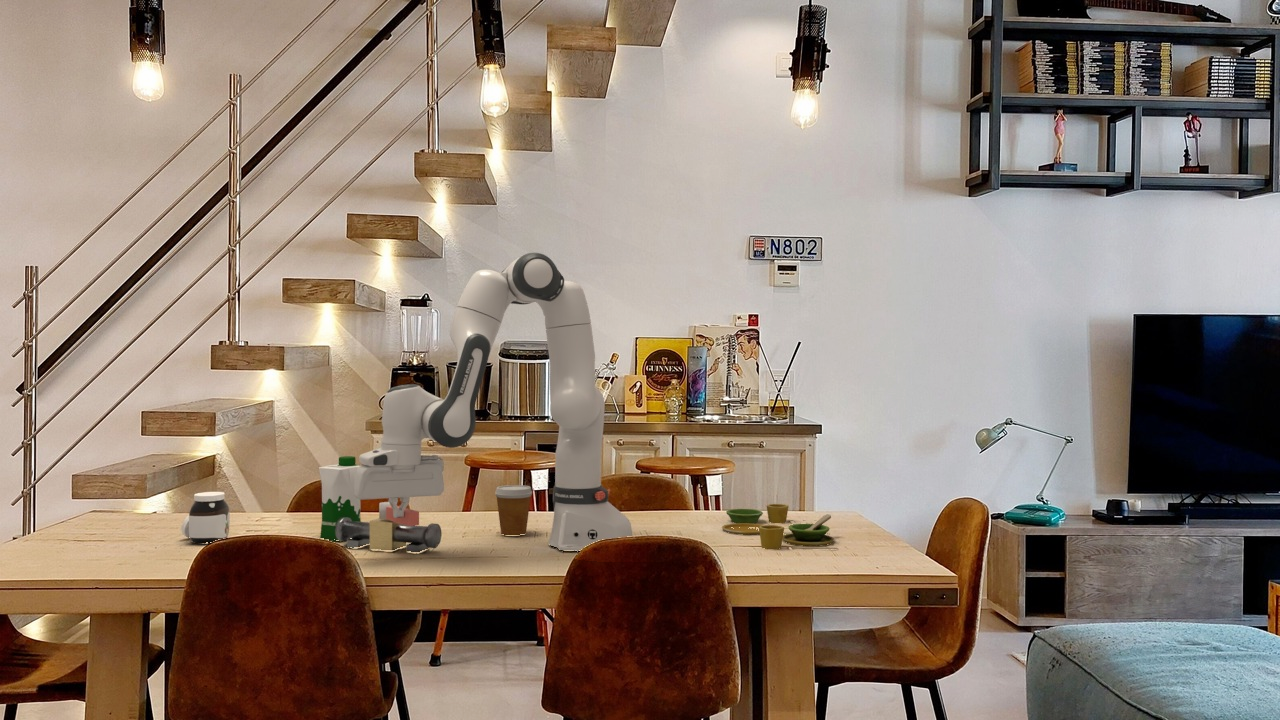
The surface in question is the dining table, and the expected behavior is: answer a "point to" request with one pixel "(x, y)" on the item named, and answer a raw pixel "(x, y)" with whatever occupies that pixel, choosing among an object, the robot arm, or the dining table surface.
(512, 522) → the disposable coffee cup
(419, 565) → the dining table surface
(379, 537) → the grey pipe with feet
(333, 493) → the soya milk
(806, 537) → the tableware set
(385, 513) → the lever
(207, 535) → the spread jar
